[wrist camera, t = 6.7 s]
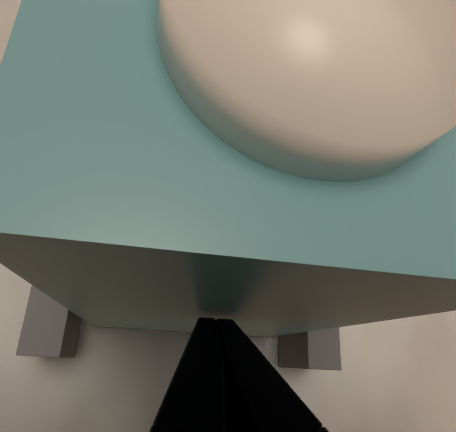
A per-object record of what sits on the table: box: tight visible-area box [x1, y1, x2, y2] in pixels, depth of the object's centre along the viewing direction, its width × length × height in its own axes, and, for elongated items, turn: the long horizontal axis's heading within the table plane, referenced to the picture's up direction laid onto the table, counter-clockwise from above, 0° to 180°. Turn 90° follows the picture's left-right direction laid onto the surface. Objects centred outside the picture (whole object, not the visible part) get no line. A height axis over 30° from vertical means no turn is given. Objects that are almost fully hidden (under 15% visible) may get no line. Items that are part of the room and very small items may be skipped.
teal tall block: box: [0, 0, 456, 337], centre depth 10 cm, size 6×7×13 cm
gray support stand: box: [16, 285, 341, 370], centre depth 14 cm, size 11×12×5 cm
